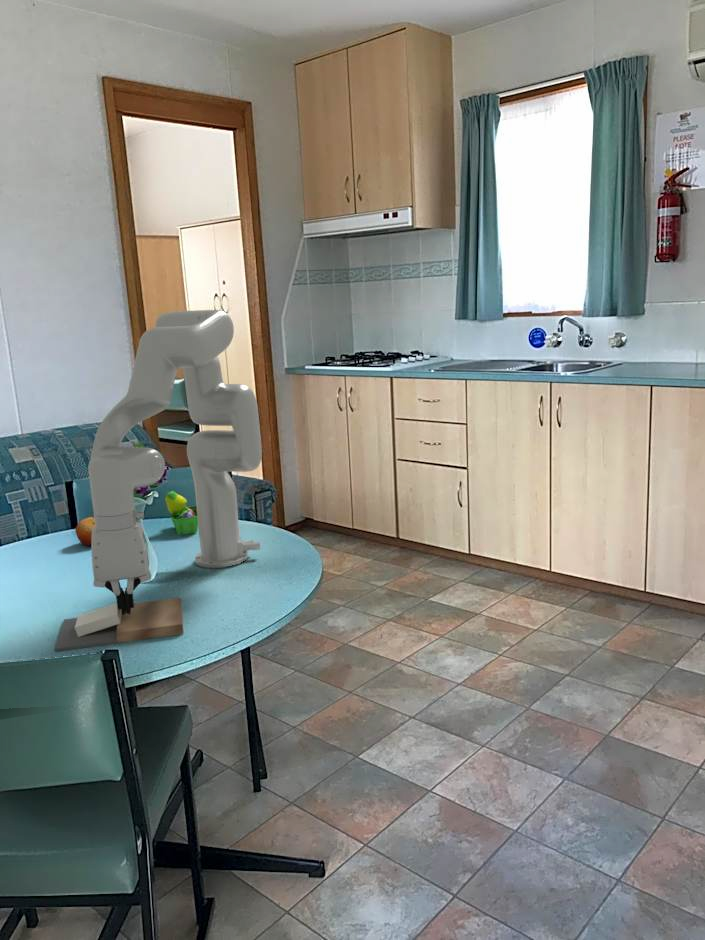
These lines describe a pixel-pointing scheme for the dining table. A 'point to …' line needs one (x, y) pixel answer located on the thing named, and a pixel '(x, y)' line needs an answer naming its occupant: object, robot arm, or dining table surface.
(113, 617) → the block
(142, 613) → the board
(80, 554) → the dining table surface
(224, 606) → the dining table surface
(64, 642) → the mat
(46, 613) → the dining table surface
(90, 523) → the fruit
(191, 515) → the green easter basket
